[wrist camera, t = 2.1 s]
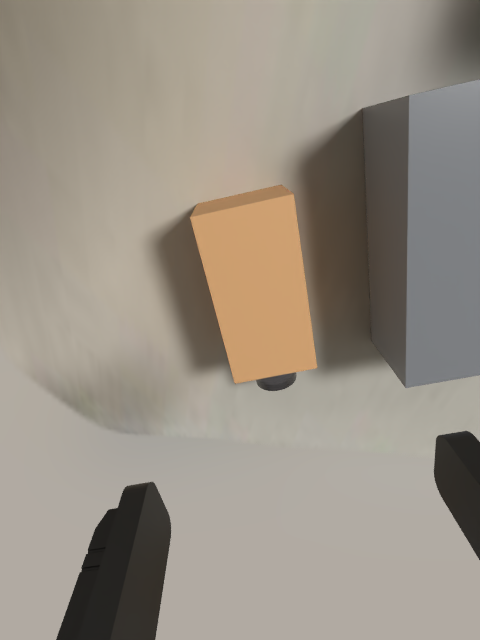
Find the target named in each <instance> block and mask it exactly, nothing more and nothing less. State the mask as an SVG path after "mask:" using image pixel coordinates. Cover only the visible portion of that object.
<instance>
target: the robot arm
mask: <svg viewBox="0 0 480 640" xmlns="http://www.w3.org/2000/svg"><path fill="white" fill-rule="evenodd" d="M434 477H435V481H436V485H437V488H438V490H439V493H440V495H441V497H442V498H443V500H444V502H445V503H446V505H447V507H448V508H449V510H450V512H451V513H452V515H453V517H454V518H455V520H456V522H457V523H458V525H459V526H460V528H461V530H462V532H463V533H464V535H465V537H466V538H467V540H468V541H469V543H470V545H471V546H472V548H473V550H474V551H475V553H476V555H477V556H478V558H479V560H480V442H479V441H478V440H477V439H476V437H475V436H474V435H473V434H472V433H470V432H468V431H463V432H457V433H451V434H445V435H439V436H437V438H436V449H435V466H434ZM170 538H171V523H170V517H169V514H168V512H167V509H166V507H165V505H164V503H163V500H162V498H161V496H160V494H159V492H158V490H157V487H156V486H155V484H154V483H153V482H149V483H142V484H136V485H131V486H127V487H125V489H124V491H123V493H122V496H121V500H120V503H119V506H118V508H116V509H110V510H108V511H107V513H106V514H105V516H104V517H103V519H102V520H101V521H100V523H99V524H98V526H97V527H96V529H95V532H94V534H93V537H92V540H91V542H90V545H89V548H88V554H86V557H85V560H84V562H83V565H82V572H80V574H79V577H78V580H77V582H76V585H75V588H74V591H73V594H72V597H71V599H70V602H69V605H68V608H67V611H66V613H65V616H64V619H63V622H62V625H61V628H60V630H59V633H58V636H57V639H56V640H155V637H156V630H157V624H158V617H159V611H160V604H161V597H162V591H163V584H164V578H165V571H166V565H167V558H168V551H169V545H170Z"/></svg>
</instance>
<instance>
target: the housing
mask: <svg viewBox="0 0 480 640" xmlns="http://www.w3.org/2000/svg"><path fill="white" fill-rule="evenodd" d="M190 219H191V223H192V226H193V230H194V234H195V237H196V241H197V245H198V249H199V252H200V256H201V260H202V263H203V267H204V271H205V275H206V278H207V282H208V286H209V289H210V293H211V297H212V301H213V304H214V308H215V312H216V315H217V319H218V323H219V327H220V330H221V334H222V338H223V341H224V345H225V349H226V352H227V356H228V360H229V364H230V367H231V371H232V375H233V378H234V382H235V384H236V383H241V382H246V381H252V380H256V382H257V385H258V386H259V387H260V388H262V389H264V390H268V391H277V390H282V389H285V388H287V387H289V386H290V385H292V384H293V383H294V381H295V380H296V372H299V371H304V370H310V369H315V368H317V362H316V355H315V347H314V340H313V333H312V325H311V318H310V311H309V303H308V296H307V289H306V281H305V274H304V266H303V259H302V252H301V244H300V237H299V230H298V222H297V215H296V208H295V200H294V194H293V193H292V192H290V191H289V190H288V189H286V188H285V187H284V186H282V185H278V186H273V187H269V188H265V189H260V190H256V191H251V192H247V193H243V194H238V195H234V196H229V197H225V198H221V199H216V200H212V201H207V202H203V203H199V204H197V206H196V207H195V209H194V211H193V213H192V215H191V217H190Z"/></svg>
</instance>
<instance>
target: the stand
mask: <svg viewBox="0 0 480 640" xmlns="http://www.w3.org/2000/svg"><path fill="white" fill-rule="evenodd" d="M362 110H363V135H364V161H365V187H366V212H367V238H368V264H369V289H370V315H371V340H372V342H373V343H374V345H375V346H376V348H377V349H378V350H379V352H380V353H381V355H382V356H383V357H384V359H385V360H386V362H387V363H388V364H389V366H390V367H391V368H392V370H393V371H394V373H395V374H396V375H397V377H398V378H399V380H400V381H401V382H402V384H403V385H404V386H405V388H408V387H414V386H420V385H426V384H432V383H437V382H443V381H449V380H455V379H460V378H466V377H472V376H478V375H480V79H479V80H475V81H470V82H466V83H461V84H457V85H453V86H448V87H444V88H440V89H435V90H431V91H426V92H422V93H418V94H413V95H409V96H405V97H402V98H398V99H395V100H391V101H387V102H384V103H380V104H377V105H373V106H369V107H366V108H362Z"/></svg>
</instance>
